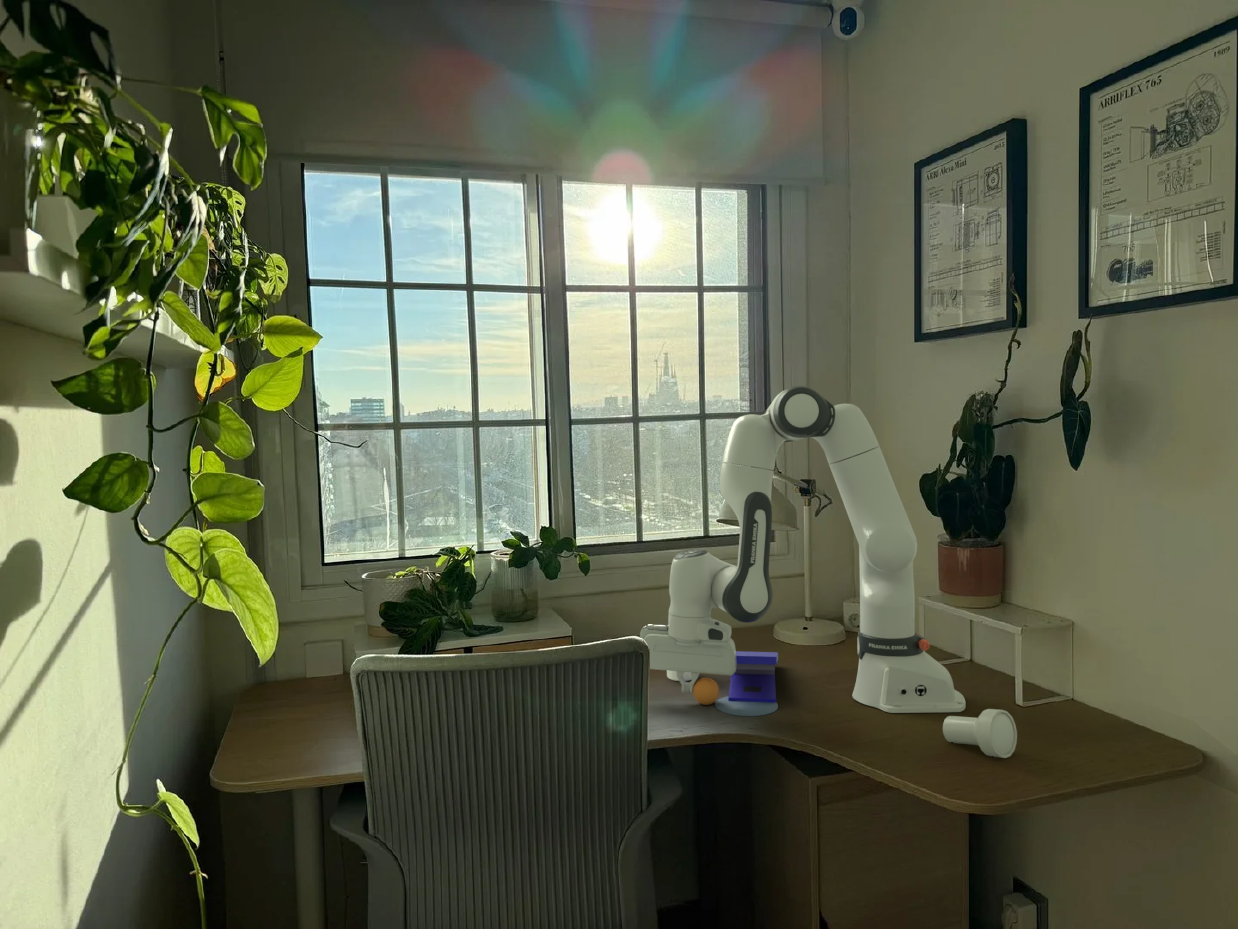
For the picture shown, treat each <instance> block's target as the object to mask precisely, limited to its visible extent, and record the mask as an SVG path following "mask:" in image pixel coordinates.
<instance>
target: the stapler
mask: <svg viewBox="0 0 1238 929" xmlns="http://www.w3.org/2000/svg"><path fill="white" fill-rule="evenodd" d="M736 659H737V668H736V672H735V673H734V674H733V675H730V682H729V690H728V696H729V697H728V701H751V702H776V703H777V697H776V696H777V693H776V692H777V691H776V674H775V671H776V665H777V664H778V660H779V652H775V651H772V652H771V651H767V652H766V651H737V650H736Z"/></svg>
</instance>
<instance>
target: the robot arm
mask: <svg viewBox="0 0 1238 929" xmlns="http://www.w3.org/2000/svg"><path fill="white" fill-rule="evenodd" d="M873 430H874V429H873V428H872V426H871V425H870V423H869V420H868V419H867V418H866V415H865V414H864V412H862V410H861V408H859V407H858V405H855V404H853V403H839V404H832V403H831V402H830V401H829V400H828V399H826V398H825V397H824V396H823V395H821V394H820V393H819V392H818V391H816V390H815V389H813V388H811V387H808V386H805V385H794V386H790V387H788V388H786V389H785V390H784V389H783V391H781V392H779V393H778V394H777V395H776V396H775V397H774V398H773V399H772V401H771V403H770V405H769V406H768V407H767V409H766V410H764V411H763V413H762V414H755V413H753V414H751V413H750V414H744V415H741V416H739V417H738V418H736V419H735V420H734V421H733V423H732V425H731V428H730V431H729V432H728V437H727V439H726V443H725V446H724V451H723V455H722V459H721V460H722V463H721V467H720V475H719V479H720V482H719V485H720V494H721V496H722V498H723V500H724V501H725V502H726V503H727V505H729V507H730V508H731V509H732V511H733V512H734V515H735V516H736V518H737V521H738V525H739V538H738V539H739V540H738V541H739V542H738V543H739V544H738V553H737V564H736V565H735V564H732V563H728V562H726V561H723V560H721V559H720V558H717V557H716V556H715V555H712V554H711V553H710V552H709V551H708V550H707V549H702V548H697V549H696V548H694V549H687V550H683V551H681V552H679V553H677V554H676V555H675V556H674V557H673V559H672V562H671V566H670V574H669V583H668V584H669V585H668V586H669V587H668V594H669V598H670V605H669V608H668V614H667V615H668V619H667V620H668V621H667V622H668V623H667V625H666V624H665V625H664V624H651V623H649V624H648V623H647V625H645V626H643V627H642V628H641V630H640V632H639V639H640V638H643V639H644V640H645V641H646V642H647V644H648V646H649V649H650V669H649V670H659V671H667V670H670V671H677V678H678V679H679V681H678V682H679V683H680V685H681V693H687V694H688V693H689V694H693V687H694V684H695V683H696V682H697V681H698V678H699V676H700V674H709V675H721V676H731V675H733V674H734V673H735V672H736V668H737V659H736V651H737V650H736V644H735V641H734V640H733V638H731V636H732V626H731V625H730V624H727V623H725V622H723V621H720V620H717V619H714V618H712V616H711V614H712V609H720V610H721V611H724V612H725V613H727V614H728V615H729V616H731V617H732V618H733V619H734V620H736V621H737V622H741V623H744V624H745V623H753V622H756V621H758V620H760V619H762V618H763V617H764V616H765V615H766V614H767V612H768V611H769V610H770V607H771V605H772V603H773V602H772V601H773V596H774V595H773V587H772V584H771V580H770V579H771V578H770V557H771V555H770V552H771V539H772V525H773V524H772V522H773V511H772V487H773V479H774V478H773V477H774V473H775V472H774V471H775V465H776V460H777V459H776V458H777V455H778V451H779V448H780V446H781V445H782V444H783V443H788V442H797V441H799V442H800V441H803V440H806V439H808V438H811V439H814V440H815V441H816V442H817V443H818V444H819V445H820V447H821V449H822V450H823V452H824V454H825V458H826V460H827V463H828V466H829V469H830V471H831V473H832V477H833V479H834V481H835V484H836V487H837V490H838V491H839V494H840V495H839V496H840V498H841V500H842V502H843V506H844V508H845V510H846V514H847V517H848V519H849V522H850V525H851V527H852V530H853V533H854V535H855V539H856V541H857V544H858V551H859V552H858V558H859V605H860V606H859V630H858V632H857V639H856V640H857V645H856V647H857V648H856V649H857V656H858V667H857V673H856V679H855V680H856V681H855V684H854V687H853V691H852V695H851V696H852V699H854V700H855V701H857V702H859V703H860V704H863V705H866V706H869V707H873V708H876V709H879V710H882V711H883V712H885V713H886V712H887V713H890V714H902V713H903V714H905V713H906V714H910V713H913V714H914V713H917V714H918V713H919V714H920V713H961V712H963V711H965V709H966V708H967V707H966V706H967V704H966V699H965V697H964V695H963V694H962V693H961V692H960V691H958V690H956V689H955V688H954V687H955V686H954V681H953V678H952V675H951V674H950V672H949V670H948V669H947V668H946V667H945V666H944V665H943V664H941V663H940V662H939V661H938V660H936V659H935V658H933V657H932V656H931V655H930V654H929V653H927V652H925V651H928V650H929V649H930V647H931V645H930V643H929V641H928V640H927V639H925V637H924V636H922V635H921V634H920V633H917V632H915V631H916V630H915V629H916V628H915V627H916V625H915V624H916V623H915V622H916V619H915V618H916V617H915V615H916V611H915V610H916V606H915V604H916V603H915V602H916V601H915V600H916V597H915V596H916V595H915V593H916V592H915V580H914V579H915V578H914V559H915V558H916V555H917V553H918V552H917V551H918V540H917V536H916V534H915V532H914V529H913V526H912V524H911V522H910V518H909V516H908V514H907V512H906V509H905V507H904V504H903V502H902V499H901V497H900V494H899V492H898V490H897V488H896V485H895V482H894V480H893V477H892V475H891V472H890V469H889V467H888V464H887V461H886V459H885V457H884V454H883V451H882V449H881V445H880V444H879V442H878V439H877V436H876V434H875V433H874V431H873ZM685 672H691V677H694V678H693V679H692V680H690V681H689V682H688V681H685V679H684V677H683V675H684V673H685Z"/></svg>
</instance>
